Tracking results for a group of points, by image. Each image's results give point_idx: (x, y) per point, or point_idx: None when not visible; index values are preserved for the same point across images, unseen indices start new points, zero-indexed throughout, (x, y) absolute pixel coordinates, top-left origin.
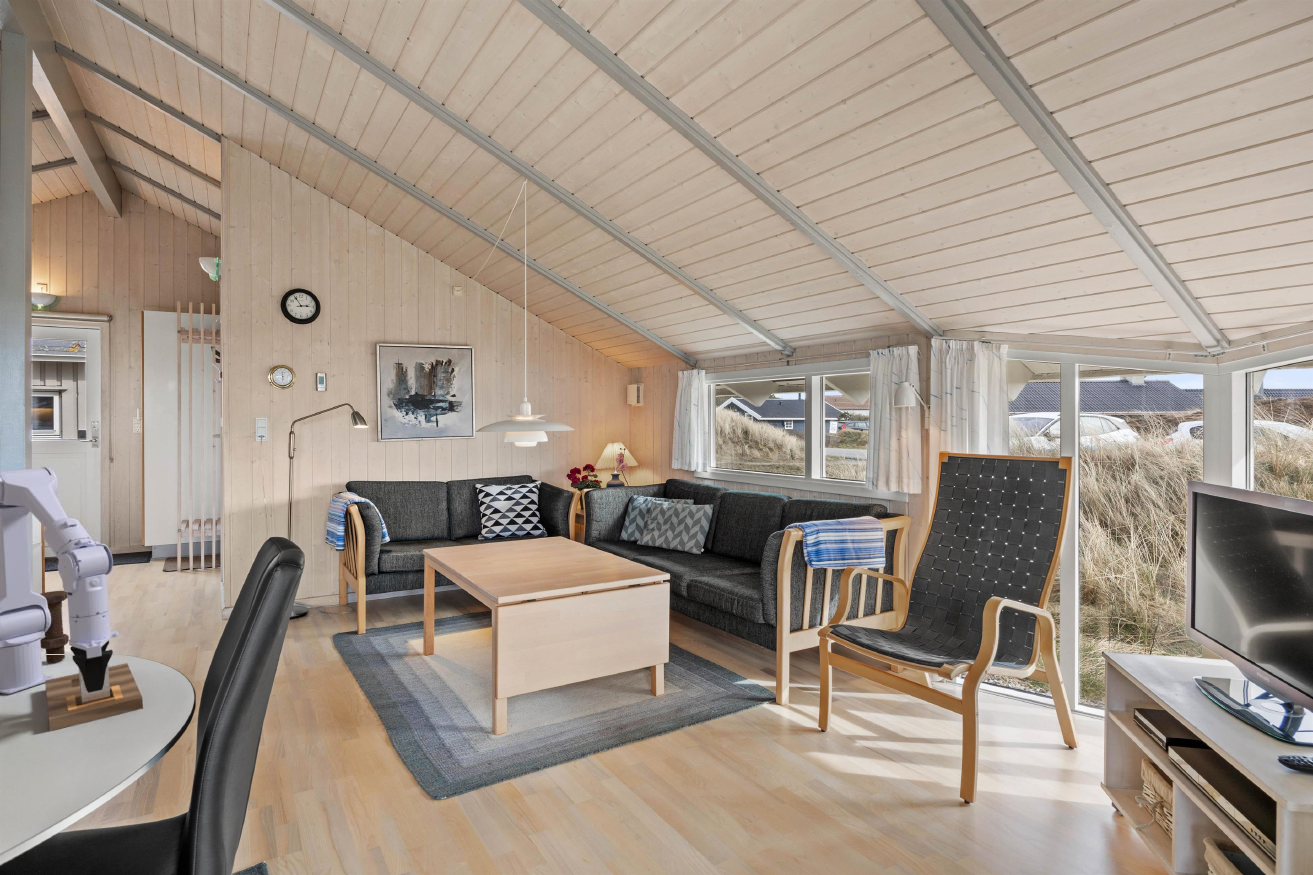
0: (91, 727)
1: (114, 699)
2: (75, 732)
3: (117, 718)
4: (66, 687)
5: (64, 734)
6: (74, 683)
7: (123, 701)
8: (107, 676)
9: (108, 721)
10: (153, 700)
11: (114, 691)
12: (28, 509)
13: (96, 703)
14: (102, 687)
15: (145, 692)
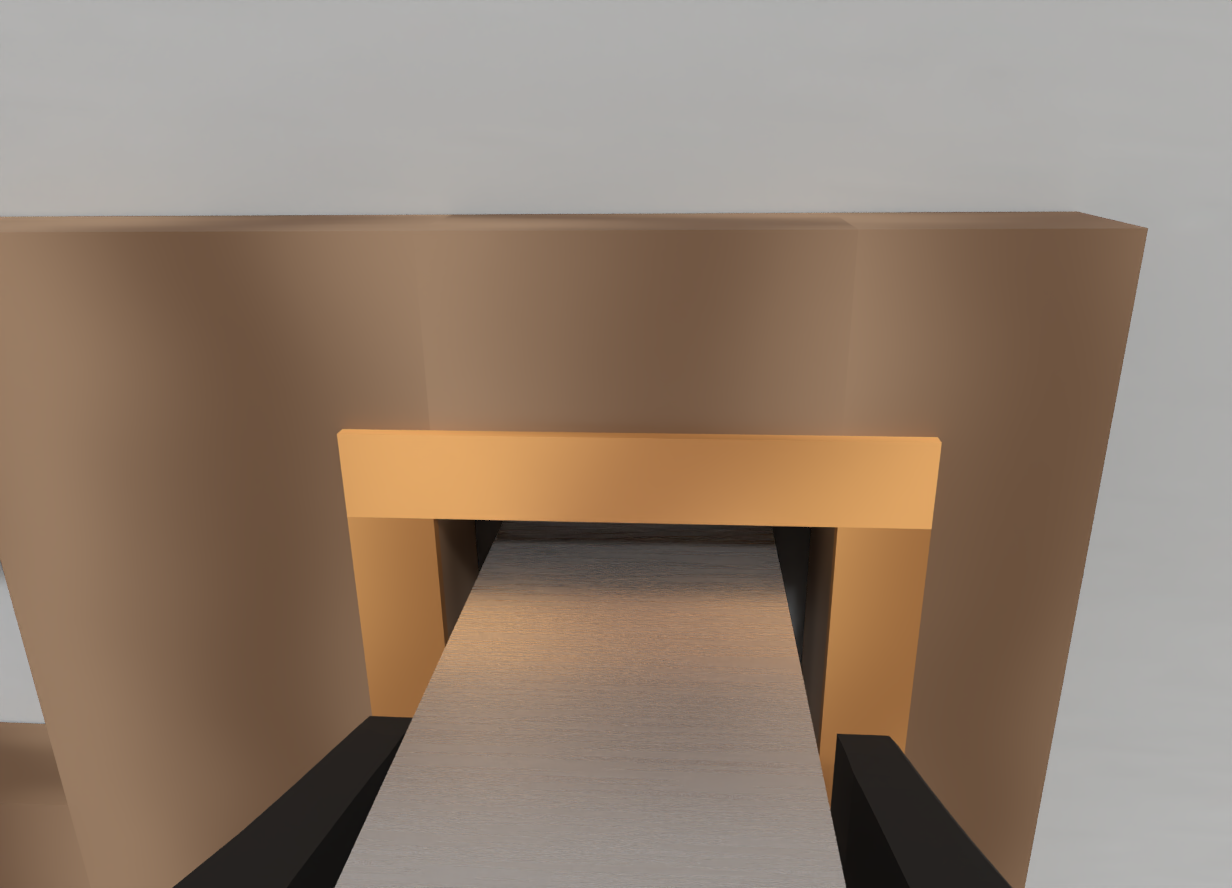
0: (1205, 689)
1: (926, 533)
2: (1207, 797)
3: (1172, 478)
4: (25, 843)
5: (1167, 860)
6: None
7: (1080, 449)
8: (812, 770)
9: (1180, 556)
10: (877, 63)
11: (594, 503)
12: None
13: (907, 700)
14: (898, 751)
15: (456, 117)
